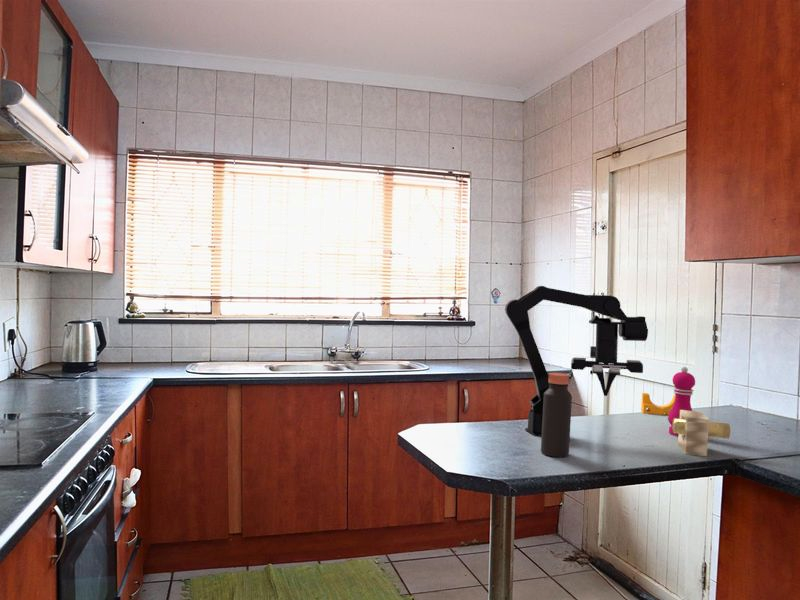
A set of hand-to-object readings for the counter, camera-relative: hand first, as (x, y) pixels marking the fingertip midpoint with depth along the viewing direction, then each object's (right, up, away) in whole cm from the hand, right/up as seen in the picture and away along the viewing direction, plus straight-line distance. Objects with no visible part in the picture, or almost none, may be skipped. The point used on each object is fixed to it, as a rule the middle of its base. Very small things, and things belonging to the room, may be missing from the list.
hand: (605, 395), depth 161 cm
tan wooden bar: (+22, -9, -9) cm, 25 cm away
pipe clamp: (+32, -13, +36) cm, 50 cm away
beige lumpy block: (+20, -13, -8) cm, 25 cm away
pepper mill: (+25, -13, +8) cm, 29 cm away
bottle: (-19, -12, -17) cm, 28 cm away
